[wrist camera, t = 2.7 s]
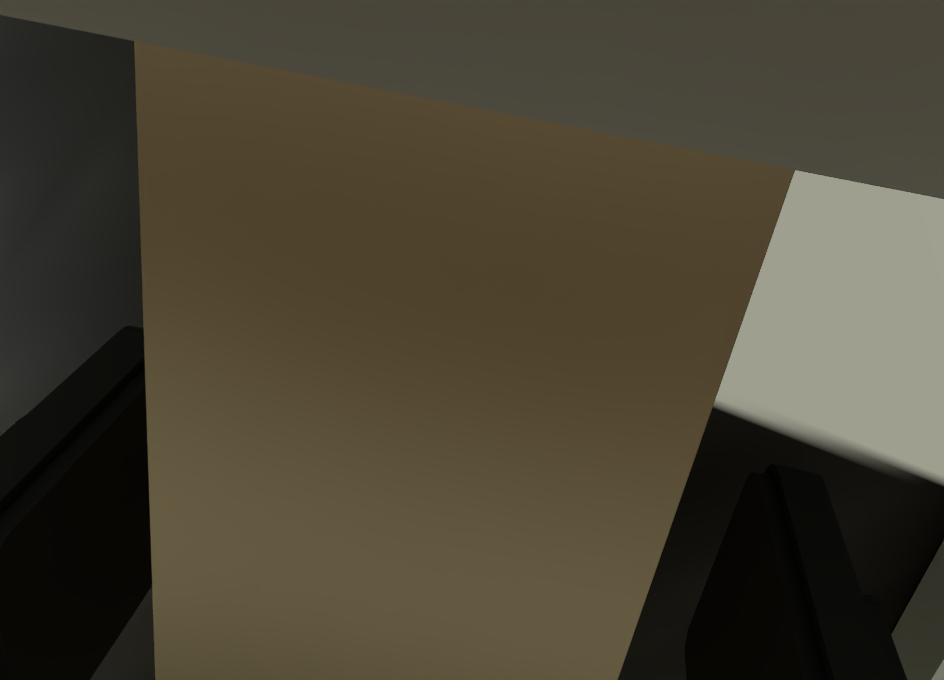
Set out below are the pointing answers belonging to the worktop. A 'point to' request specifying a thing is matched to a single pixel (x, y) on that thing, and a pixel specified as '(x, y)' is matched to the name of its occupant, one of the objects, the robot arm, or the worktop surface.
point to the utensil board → (924, 626)
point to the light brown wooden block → (463, 301)
